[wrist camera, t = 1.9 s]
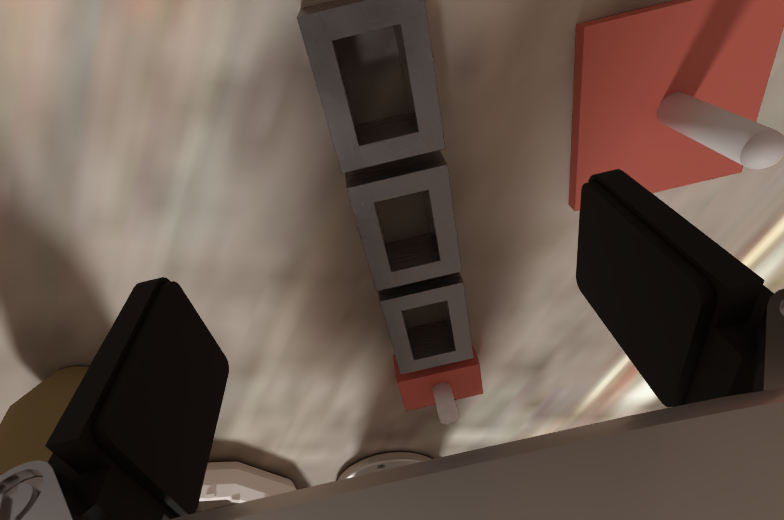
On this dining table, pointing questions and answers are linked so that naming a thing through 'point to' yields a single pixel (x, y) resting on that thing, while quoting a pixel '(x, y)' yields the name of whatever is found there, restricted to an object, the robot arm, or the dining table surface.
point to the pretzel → (241, 483)
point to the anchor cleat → (441, 386)
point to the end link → (423, 122)
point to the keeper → (674, 93)
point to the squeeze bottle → (36, 418)
